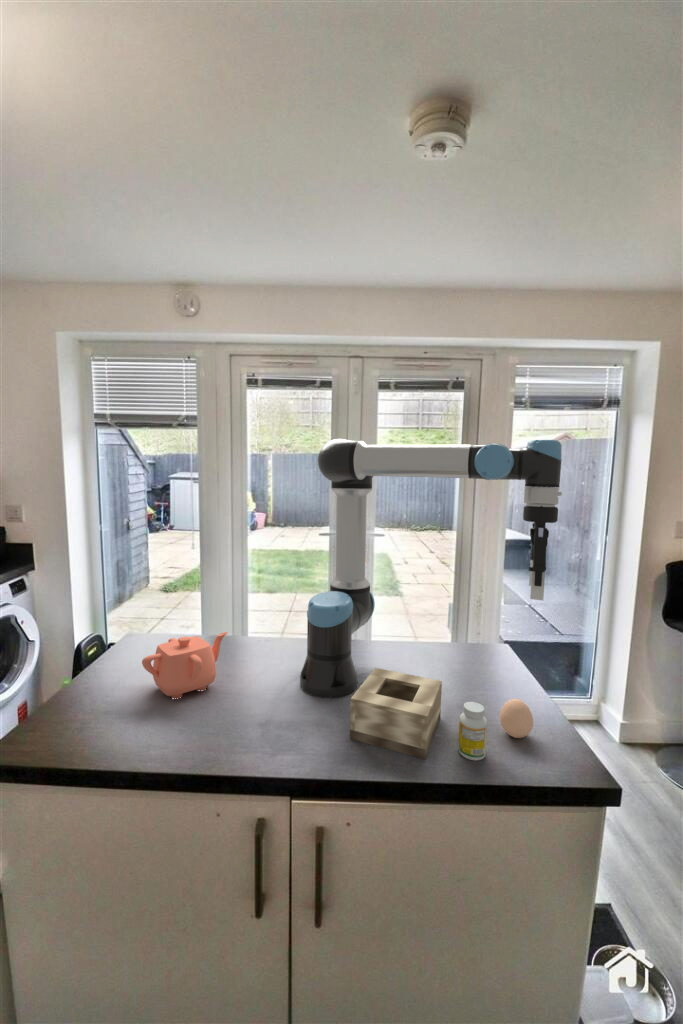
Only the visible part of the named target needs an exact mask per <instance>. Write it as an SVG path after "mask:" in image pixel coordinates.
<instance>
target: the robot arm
mask: <svg viewBox="0 0 683 1024" xmlns="http://www.w3.org/2000/svg"><path fill="white" fill-rule="evenodd" d="M317 457H318V458H317V463H318V464H317V465H318V468H319V471H320V473H321V474H322V476H324V477H325V478H326V479H327V480H329V481H330V483H331V486H330V487H331V490H332V492H334V494H335V496H336V511H335V513H336V516H335V517H336V518H335V522H336V523H335V529H336V530H335V577H334V578H333V579H332V580H331V581H330V584H329V587H330V588H329V591H325V592H319V593H317V594H315V595H313V596H312V597H311V598H310V600H309V602H308V605H307V612H306V618H307V625H306V626H307V629H306V630H307V633H306V634H307V635H306V636H307V637H306V638H307V640H306V641H307V643H306V647H307V648H306V650H307V651H306V657H305V660H304V663H303V666H302V669H301V672H300V675H299V684H300V688H301V690H303V692H305V693H306V694H309V695H312V696H314V697H318V698H327V699H328V698H330V699H331V698H339V697H340V698H341V697H343V696H347V695H349V694H351V693H352V692H354V691H355V690H356V689H357V686H358V674H357V670H356V668H355V664H354V660H353V656H352V643H353V642H352V641H353V640H352V639H353V638H352V637H353V634H354V633H355V632H357V631H358V630H359V629H360V628H361V627H363V626H365V624H367V623H368V621H370V619H371V617H372V616H373V613H374V611H375V606H376V605H375V604H376V602H375V599H374V595H373V593H372V592H371V583H370V581H369V580H368V579H367V578H366V547H367V546H366V541H367V538H366V537H367V496H368V495H369V493H371V492H372V490H373V478H374V477H396V478H397V477H404V478H406V477H407V478H442V479H473V480H476V479H477V480H486V481H490V480H491V481H492V480H495V481H496V480H507V481H508V480H509V481H510V480H514V481H515V480H516V481H517V480H519V481H521V480H523V481H524V483H525V484H524V493H523V495H524V496H523V503H524V504H526V505H524V506H523V514H522V519H523V521H525V522H529V523H532V528H530V529H529V536H530V546H531V549H530V553H529V555H530V565H529V567H528V568H529V569H528V571H529V579H528V586H529V587H530V597H529V598H530V600H536V601H544V595H545V578H546V570H547V566H546V565H547V563H546V561H547V548H548V542H549V541H548V539H549V537H550V536H549V535H550V534H549V533H550V531H549V528H547V527H546V524H553V523H556V522H558V517H559V508H558V506H556V505H558V504H559V498H560V497H561V496H563V492H562V491H560V484H561V471H562V460H563V459H562V443H561V442H560V441H559V440H557V439H531V440H528V442H527V444H526V448H509V447H507V446H505V444H504V445H503V444H502V443H493V442H492V443H488V444H367V443H366V442H365V441H363V440H349V439H345V438H334V439H331V440H328V442H326V443H325V444H324V445H323V446H322V447H321V449H320V451H319V453H318V456H317Z"/></svg>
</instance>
